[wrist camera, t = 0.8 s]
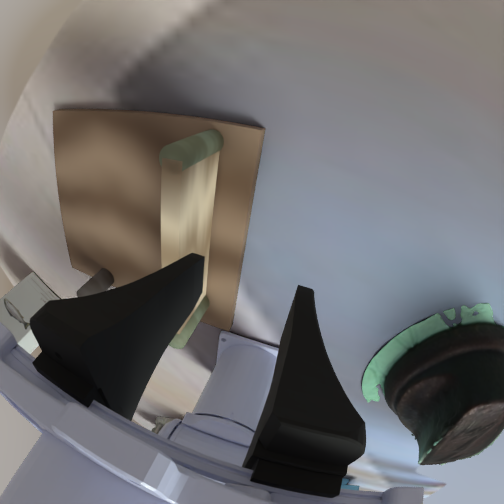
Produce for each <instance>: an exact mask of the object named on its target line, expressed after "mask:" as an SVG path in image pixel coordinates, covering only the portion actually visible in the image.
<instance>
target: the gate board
mask: <svg viewBox="0 0 504 504" xmlns="http://www.w3.org/2000/svg"><path fill="white" fill-rule="evenodd" d="M210 129H214V130H217V131H218V132H220V133H221V135H222V136H223V139H224V144H223V147H222V149H221V150H220V153H219V162H218V170H217V179H216V188H215V197H214V207H213V217H212V227H211V238H210V249H209V261H208V274H207V287H206V295H205V296H206V297H207V298H208V299H209V302H210V305H209V307H208V309H207V310H206V312H205V313H204V315H203V317H202V318H201V320H200V321H201V322H203V323H206V324H209V325H212V326H214V327H217V328H220V329H223V330H226V331H229V330H230V328H231V326H232V324H233V318H234V312H235V306H236V300H237V294H238V287H239V281H240V275H241V269H242V263H243V257H244V251H245V245H246V239H247V233H248V227H249V221H250V215H251V209H252V203H253V197H254V191H255V186H256V180H257V174H258V168H259V162H260V156H261V151H262V145H263V139H264V133H265V128H260V127H255V126H250V125H245V124H239V123H234V122H228V121H222V120H215V119H208V118H201V117H194V116H186V115H177V114H168V113H158V112H146V111H132V110H113V109H59V110H55V111H53V135H54V154H55V166H56V177H57V186H58V194H59V201H60V208H61V214H62V220H63V226H64V232H65V237H66V242H67V247H68V251H69V256H70V260H71V265H72V267H73V268H75V269H77V270H79V271H81V272H83V273H85V274H87V275H90V276H92V278H91V279H90V280H89V281H87V282H86V283H85V284H84V285H83V286H82V287H81V288H80V289H79V290H78V291H77V296H78V297H83V296H88V295H92V294H97V293H100V292H104V291H106V290H107V289H108V288H109V287H110V286H114V287H116V288H118V287H121V286H123V285H126V284H129V283H131V282H134V281H136V280H139V279H141V278H143V277H145V276H147V275H149V274H152V273H154V272H156V271H158V270H160V269H162V262H161V176H162V167H161V165H160V162H159V154H160V151H161V149H162V148H163V147H164V146H166V145H168V144H171V143H173V142H176V141H179V140H181V139H184V138H187V137H190V136H192V135H195V134H198V133H201V132H204V131H207V130H210Z"/></svg>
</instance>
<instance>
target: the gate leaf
mask: <svg viewBox="0 0 504 504" xmlns="http://www.w3.org/2000/svg"><path fill="white" fill-rule="evenodd" d="M223 144H224V139H223V136H222V135H221V133H220V132H218V131H217V130H214V129H210V130H207V131H204V132H201V133H198V134H195V135H192V136H190V137H187V138H184V139H181V140H179V141H176V142H173V143H171V144H168V145H166V146H164V147H163V148H162V149H161V151H160V154H159V162H160V165H161V167H162V176H161V262H162V268H164V267H166V266H168V265H170V264H171V263H173V262H175V261H177V260H179V259H181V258H183V257H184V256H186V255H188V254H190V253H196V254H199V255H202V256H205V262H204V277H203V292H202V294H201V296H200V298H199V300H198V302H197V304H196V306H195V307H194V309H193V311H192V312H191V314H190V315H189V317H188V318H187V320H186V321H185V322H184V324H183V325H182V327H181V328H180V329H179V331H178V332H177V334H176V335H175V336H174V338H173V339H172V341H171V342H170V343H169V346H171V347H173V348H176V349H182V348H183V347H184V346H185V344H186V343H187V341H188V339H189V338H190V336H191V335H192V333H193V331H194V330H195V328H196V326H197V325H198V323H199V322H200V320H201V318H202V317H203V315H204V313H205V312H206V310H207V309H208V307H209V305H210V302H209V299H208V298H207V297H206V296H205V295H206V287H207V274H208V261H209V249H210V238H211V227H212V217H213V207H214V197H215V188H216V179H217V170H218V162H219V153H220V150H221V149H222V147H223Z"/></svg>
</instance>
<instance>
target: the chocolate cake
mask: <svg viewBox="0 0 504 504" xmlns="http://www.w3.org/2000/svg"><path fill="white" fill-rule="evenodd" d="M474 311H477V312H478V313H479V314H478V315H476V316H474V315H473V316H472V314H473V313H474ZM443 312H444V314H445V315H446V316H447V318H448V319H449V320H454V319H455V316H456V314H455V309H454V308H452V309H449V310H446V311H443ZM460 315H461V317H462V321H461V323H459V324H456V323H454V324H453V327H449V326H448V325H446V324H445V322H444V321H443V319H441V316H440V315H439V314H438V313H437V314H435V315H434V316H432V317H430V318H428V319H426V320H424V321H422V322H420V323H418V324H415V325H413V326H410V327H409V328H408V329H406V330H405V331H403V332H402V333H400V334H399V335H397V336H396V337H394V338H393V339H392V340H391V341H390V342H389V343H388V344H387V345H386V346H385V347H384V348H382V349H381V350H380V351H379V352H378V354H377V355H376V356H375V357H374V358H373V359H372V360H371V362H370V363H369V365H368V367H367V369H366V371H365V374H364V377H363V381H362V391H363V395H364V397H365V398H366V400H367V402H370V400H374V401H379V398H380V396H378V395H379V394H378V388H376V386H377V385H378V384H380V385H381V388H382V389H383V393H384V396H385V400H386V402H387V404H388V406H389V407H390V408H391V410H392V411H393V412H394V413H395V414H396V415H398V417H399V419H400V421H401V422H402V423H403V425H404V426H405V427H406V428H407V429H408V430H410V431H411V432H412V433H413V434H414V435H413V434H412V436H415V440H416V439H417V442H418V445H419V461H418V464H420V465H433V464H441V465H443V464H446V463H447V462H454V461H456V460H461V459H465V458H471V457H472V456H475V455H478V454H480V453H481V452H482V451H483V450H484V449H486V448H487V447H488V446H490V445H492V444H493V443H494V441H495V440H496V439H497V438H498V436H499V435H500V434H501V432H502V430H503V429H504V326H501V325H497V324H496V323H495V322H494V320H493V317H492V316H493V311H492V310H491V307H490V304H477V305H476V306H474V307H473V308H471V309H470V308H468V307H466V306H465V305H464V306H462V307H461V314H460Z"/></svg>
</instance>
